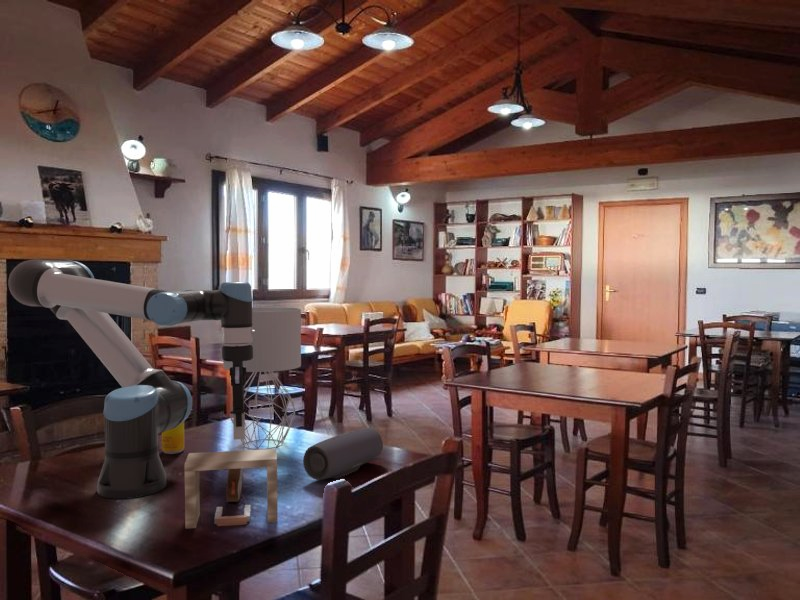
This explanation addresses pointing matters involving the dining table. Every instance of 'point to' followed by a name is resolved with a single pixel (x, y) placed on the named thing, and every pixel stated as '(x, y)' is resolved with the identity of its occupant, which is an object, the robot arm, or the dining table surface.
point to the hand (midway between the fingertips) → (239, 438)
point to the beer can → (173, 440)
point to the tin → (234, 484)
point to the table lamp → (272, 356)
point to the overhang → (228, 461)
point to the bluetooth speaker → (342, 453)
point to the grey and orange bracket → (232, 517)
